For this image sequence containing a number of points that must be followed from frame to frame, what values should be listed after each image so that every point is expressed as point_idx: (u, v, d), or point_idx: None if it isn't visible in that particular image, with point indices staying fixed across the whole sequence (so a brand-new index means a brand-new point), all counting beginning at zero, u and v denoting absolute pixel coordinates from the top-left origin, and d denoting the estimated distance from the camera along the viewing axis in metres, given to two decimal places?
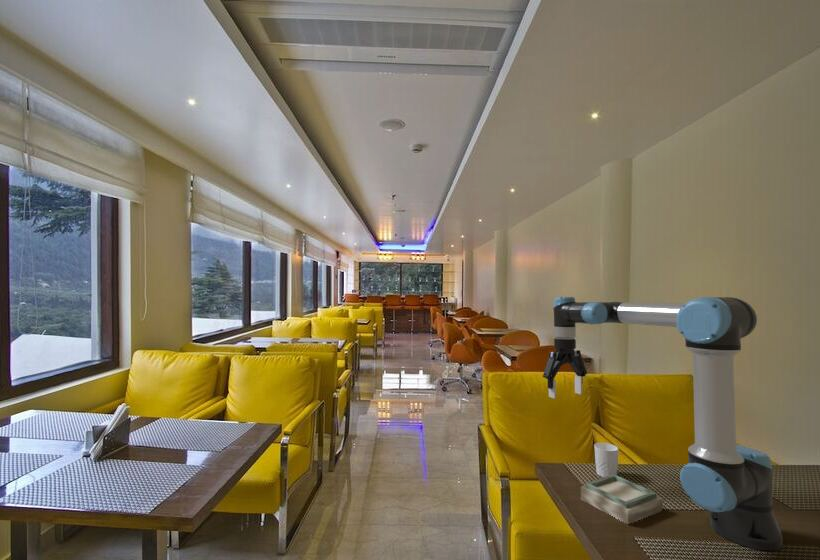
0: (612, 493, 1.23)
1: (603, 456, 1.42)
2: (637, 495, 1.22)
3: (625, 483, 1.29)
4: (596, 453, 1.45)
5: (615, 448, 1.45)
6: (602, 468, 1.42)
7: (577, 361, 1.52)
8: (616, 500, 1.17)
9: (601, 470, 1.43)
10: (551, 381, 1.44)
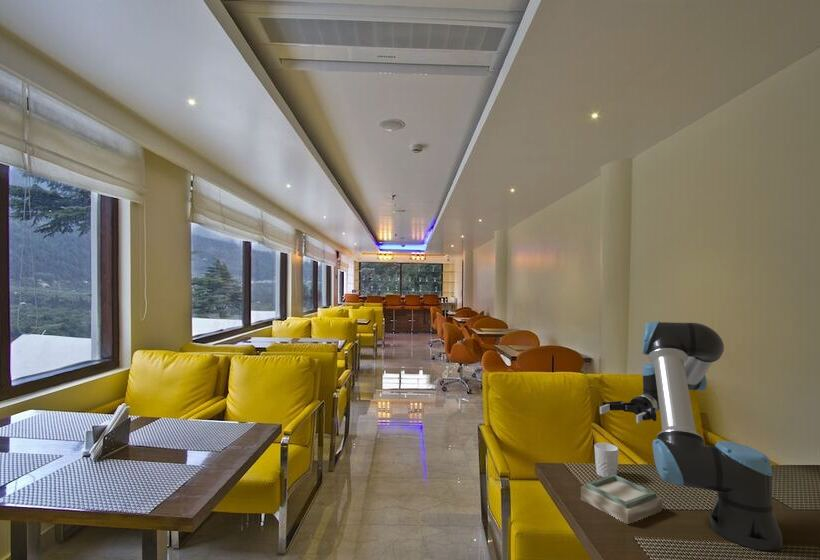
0: (612, 493, 1.23)
1: (603, 456, 1.42)
2: (637, 495, 1.22)
3: (625, 483, 1.29)
4: (596, 453, 1.45)
5: (615, 448, 1.45)
6: (602, 468, 1.42)
7: (651, 413, 1.53)
8: (616, 500, 1.17)
9: (601, 470, 1.43)
10: (605, 405, 1.61)
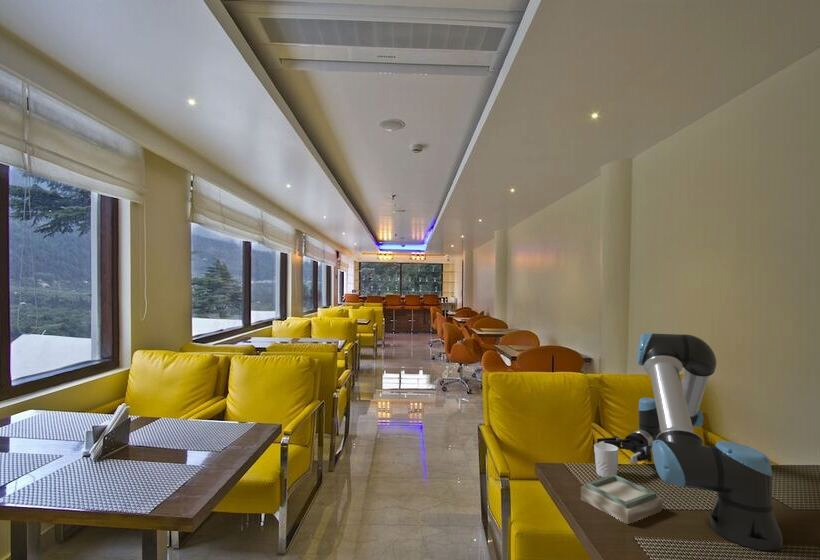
0: (612, 493, 1.23)
1: (603, 456, 1.42)
2: (637, 495, 1.22)
3: (625, 483, 1.29)
4: (596, 453, 1.45)
5: (615, 448, 1.45)
6: (602, 468, 1.42)
7: (646, 453, 1.50)
8: (616, 500, 1.17)
9: (601, 470, 1.43)
10: (600, 442, 1.58)
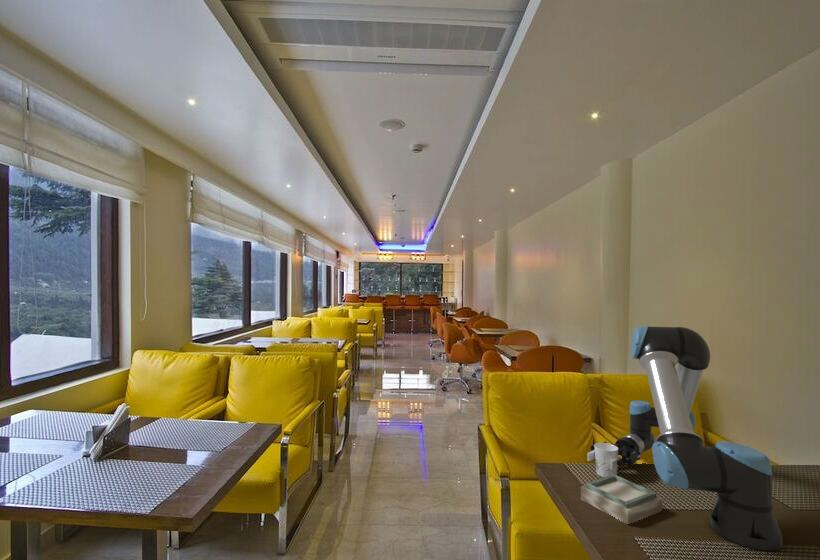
0: (612, 493, 1.23)
1: (603, 456, 1.42)
2: (637, 495, 1.22)
3: (625, 483, 1.29)
4: (596, 453, 1.45)
5: (615, 448, 1.45)
6: (602, 468, 1.42)
7: None
8: (616, 500, 1.17)
9: (601, 470, 1.43)
10: (594, 450, 1.50)
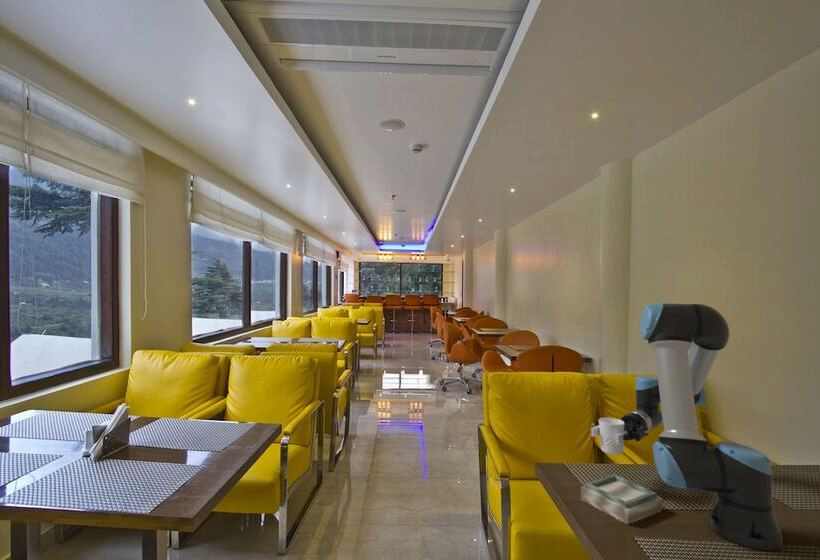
0: (612, 493, 1.23)
1: (608, 430, 1.33)
2: (637, 495, 1.22)
3: (625, 483, 1.29)
4: (601, 428, 1.35)
5: (621, 423, 1.36)
6: (607, 443, 1.33)
7: None
8: (616, 500, 1.17)
9: (606, 445, 1.34)
10: (598, 426, 1.41)
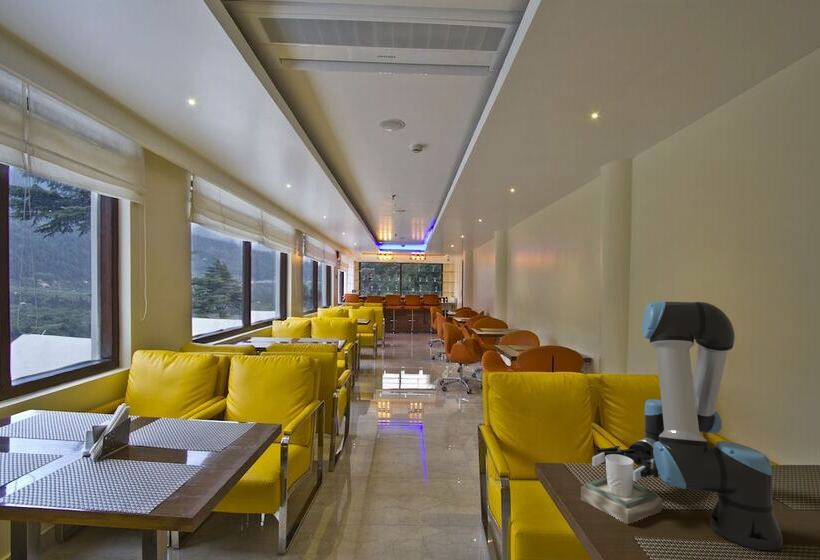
0: None
1: (615, 470, 1.21)
2: (637, 495, 1.22)
3: None
4: (608, 467, 1.24)
5: (630, 461, 1.25)
6: (615, 484, 1.22)
7: None
8: (616, 500, 1.17)
9: (614, 486, 1.22)
10: (599, 454, 1.32)
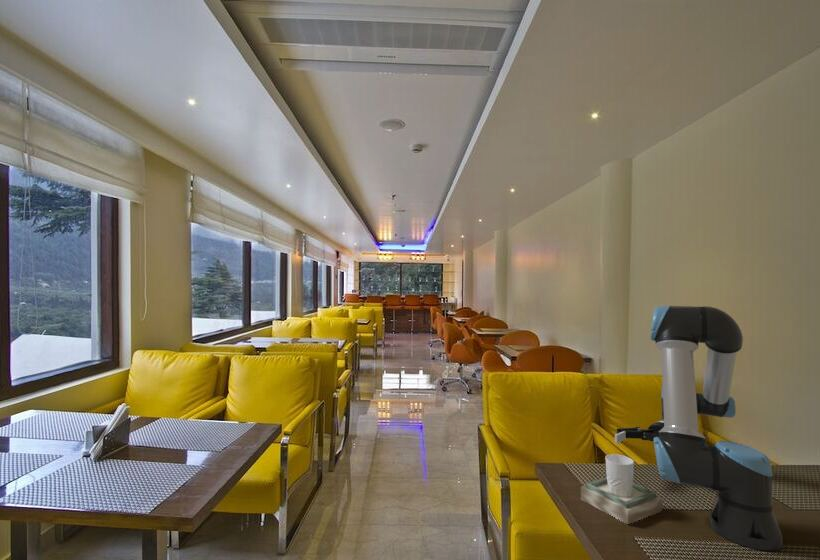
0: None
1: (615, 470, 1.21)
2: (637, 495, 1.22)
3: None
4: (608, 467, 1.24)
5: (630, 461, 1.25)
6: (615, 484, 1.22)
7: None
8: (616, 500, 1.17)
9: (614, 486, 1.22)
10: None
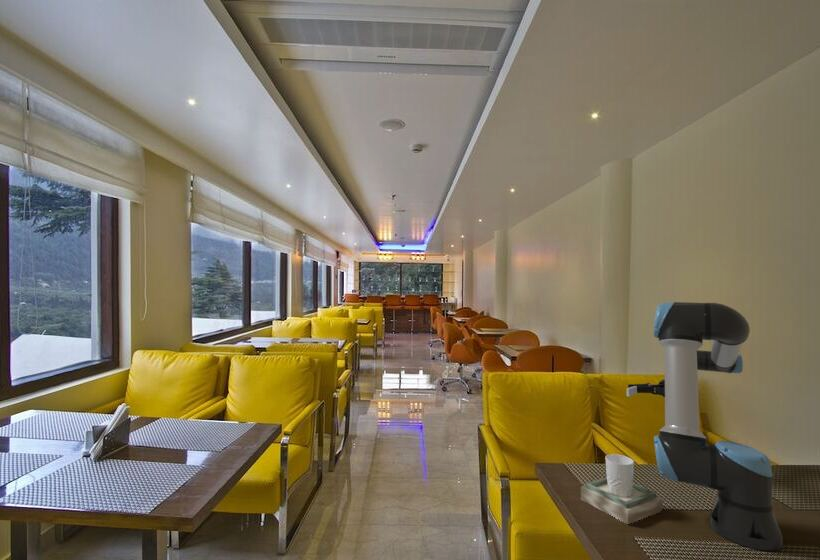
0: None
1: (615, 470, 1.21)
2: (637, 495, 1.22)
3: None
4: (608, 467, 1.24)
5: (630, 461, 1.25)
6: (615, 484, 1.22)
7: None
8: (616, 500, 1.17)
9: (614, 486, 1.22)
10: None
